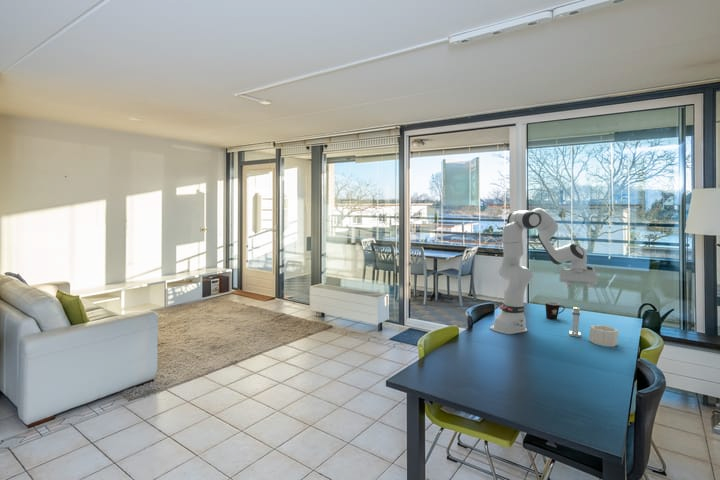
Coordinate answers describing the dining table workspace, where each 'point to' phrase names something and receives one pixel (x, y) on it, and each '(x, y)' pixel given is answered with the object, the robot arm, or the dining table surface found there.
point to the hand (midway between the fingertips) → (577, 288)
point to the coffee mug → (552, 310)
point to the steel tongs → (576, 314)
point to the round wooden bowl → (603, 335)
